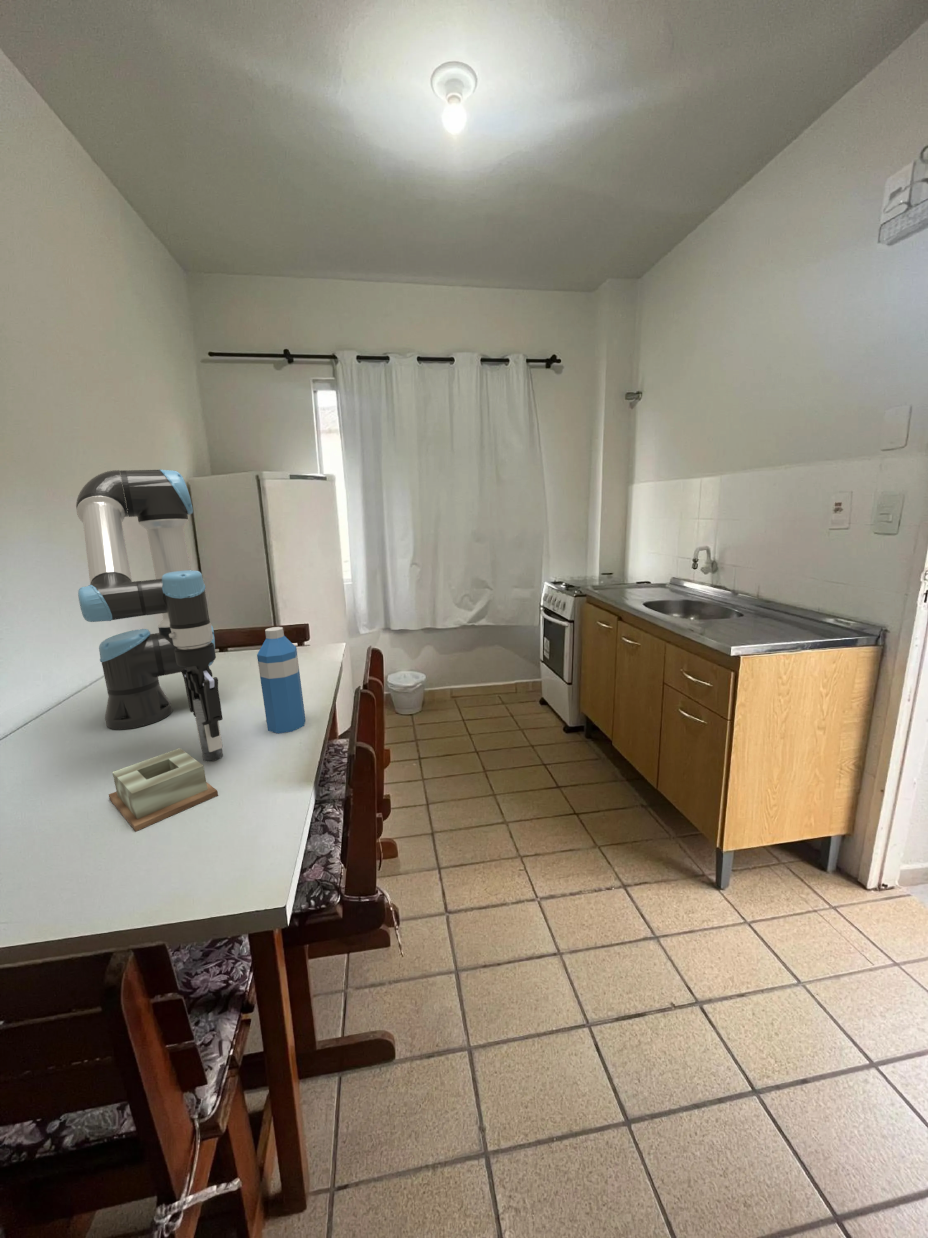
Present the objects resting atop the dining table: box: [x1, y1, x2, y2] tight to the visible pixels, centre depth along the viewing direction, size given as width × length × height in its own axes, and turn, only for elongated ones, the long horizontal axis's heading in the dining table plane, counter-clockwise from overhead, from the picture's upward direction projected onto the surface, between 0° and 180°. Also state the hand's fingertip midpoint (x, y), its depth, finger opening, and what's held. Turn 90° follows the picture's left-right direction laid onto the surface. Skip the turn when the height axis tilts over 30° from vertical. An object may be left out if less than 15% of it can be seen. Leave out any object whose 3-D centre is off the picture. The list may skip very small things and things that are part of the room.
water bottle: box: [256, 626, 306, 734], centre depth 126 cm, size 9×9×25 cm
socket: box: [108, 747, 219, 832], centre depth 98 cm, size 16×14×6 cm
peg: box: [193, 697, 224, 762], centre depth 112 cm, size 4×4×14 cm
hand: (211, 746), depth 113 cm, fingers closed on peg, 4 cm apart
